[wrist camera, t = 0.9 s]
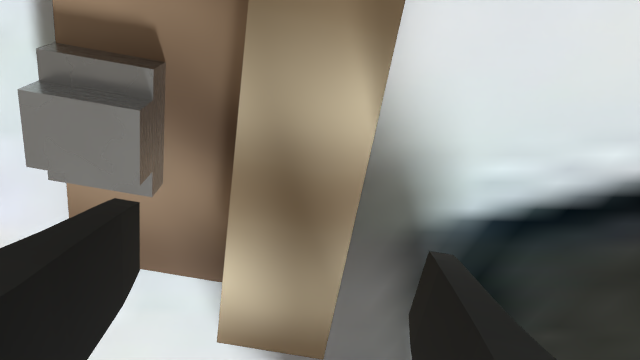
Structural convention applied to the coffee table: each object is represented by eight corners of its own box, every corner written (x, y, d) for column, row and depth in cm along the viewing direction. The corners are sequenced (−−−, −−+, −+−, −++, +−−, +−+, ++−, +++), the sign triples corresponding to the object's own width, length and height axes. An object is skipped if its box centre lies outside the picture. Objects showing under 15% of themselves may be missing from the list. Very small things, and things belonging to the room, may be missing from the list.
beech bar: (327, 290, 21) (323, 359, 18) (239, 276, 21) (216, 342, 18) (393, -19, 16) (407, -11, 12) (274, -41, 16) (252, -39, 12)
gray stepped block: (162, 183, 19) (139, 212, 17) (65, 167, 19) (29, 194, 17) (165, 62, 17) (139, 77, 15) (55, 42, 17) (13, 55, 15)
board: (315, 289, 22) (314, 297, 22) (78, 249, 22) (72, 257, 21) (381, -39, 16) (382, -38, 16) (55, -98, 16) (45, -100, 15)
